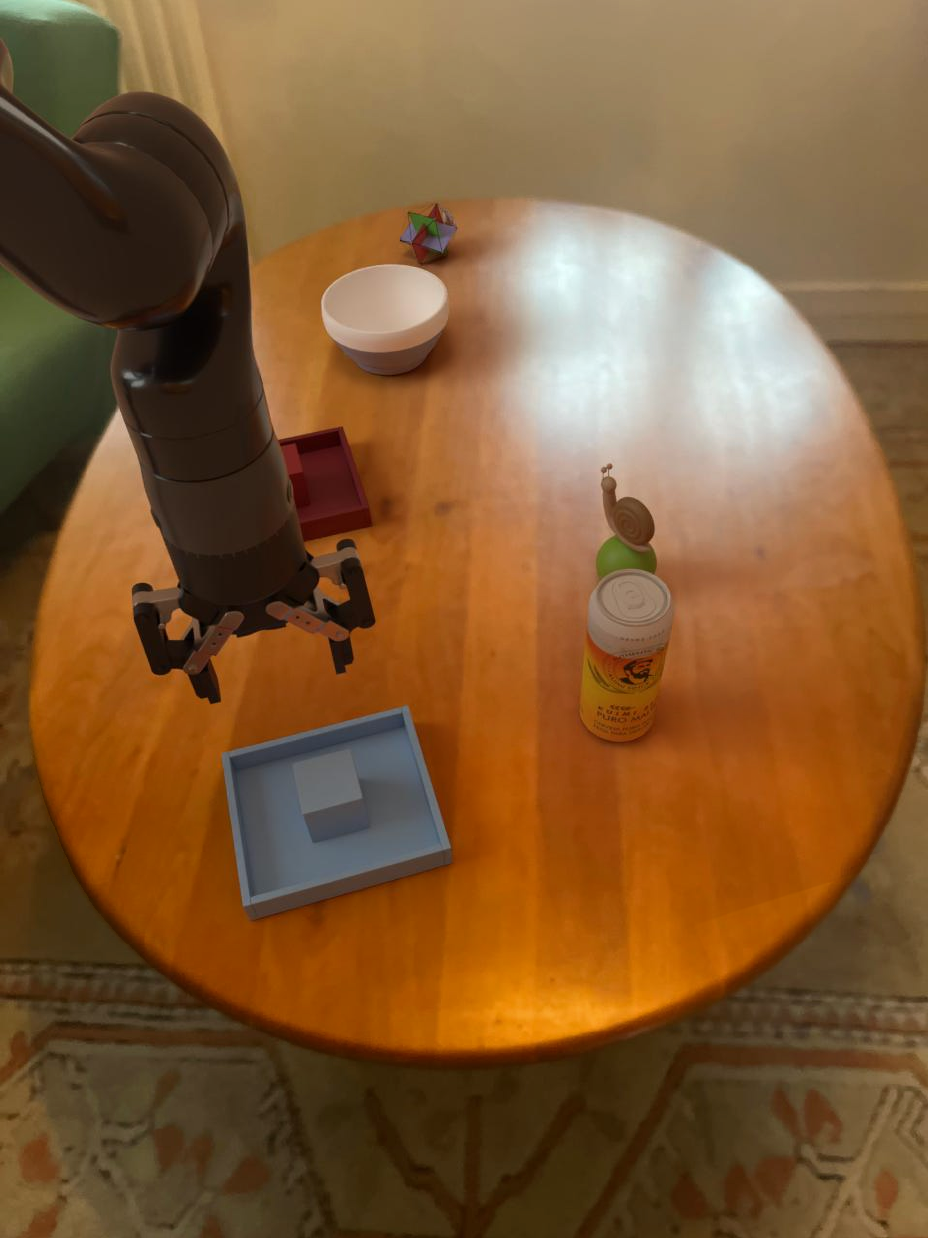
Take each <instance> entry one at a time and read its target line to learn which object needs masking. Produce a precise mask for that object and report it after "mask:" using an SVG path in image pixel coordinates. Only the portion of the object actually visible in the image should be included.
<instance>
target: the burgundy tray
mask: <svg viewBox="0 0 928 1238" xmlns="http://www.w3.org/2000/svg"><path fill="white" fill-rule="evenodd" d="M278 441H279V443H280V446H285V445H290V444H296V447H297V450H298V454H299V458H300V461H301V465H302V469H303V473H304V477H305V482H306V486H307V491H308V495H309V499H310V505H308V506H303V507H299V508H296V510H297V514H298V519H299V523H300V528H301V532H302V537H303V541H304V542H307V541H311V540H315V539H320V538H325V537H330V536H332V535H337V534H342V533H346V532H350V531H355V530H360V529H364V528H369V527H372V526H373V522H372V517H371V511H370V510H371V509H370V506H369V503H368V499H367V496H366V493H365V490H364V487H363V485H362V481H361V477H360V475H359V472H358V468H357V465H356V462H355V458H354V457H353V453H352V450H351V447H350V444H349V441H348V438H347V434H346V432H345V429H344V425H343V426H336V427H331V428H327V429H322V430H318V431H312V432H307V433H304V434H299V435H294V436H288V437H284V438H278Z"/></svg>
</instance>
